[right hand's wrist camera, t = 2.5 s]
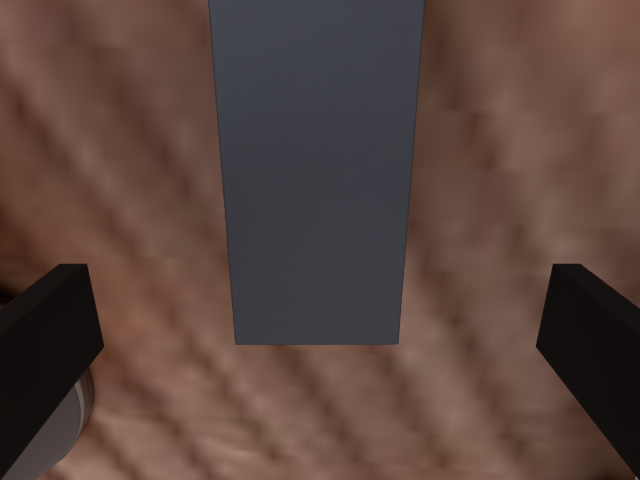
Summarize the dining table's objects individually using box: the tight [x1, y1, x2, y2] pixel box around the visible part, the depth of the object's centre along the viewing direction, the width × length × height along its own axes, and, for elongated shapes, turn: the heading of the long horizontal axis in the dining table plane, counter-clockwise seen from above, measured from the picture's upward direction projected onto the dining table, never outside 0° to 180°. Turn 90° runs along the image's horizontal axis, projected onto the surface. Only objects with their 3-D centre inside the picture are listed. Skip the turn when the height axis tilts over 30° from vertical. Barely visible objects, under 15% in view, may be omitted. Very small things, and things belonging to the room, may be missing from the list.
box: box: [208, 0, 425, 345], centre depth 19 cm, size 21×6×12 cm, turn 0°
